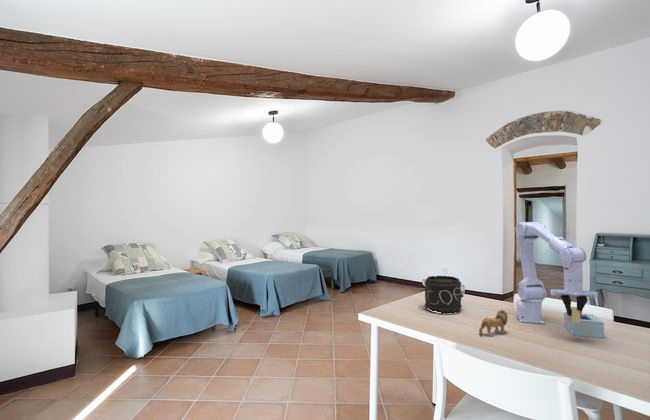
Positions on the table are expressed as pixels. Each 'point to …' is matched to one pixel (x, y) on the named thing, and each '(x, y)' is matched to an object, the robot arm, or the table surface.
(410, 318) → the table surface
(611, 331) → the table surface
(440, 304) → the black lettered canister
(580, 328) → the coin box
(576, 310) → the tan rectangular block
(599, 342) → the table surface
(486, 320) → the lion figurine
